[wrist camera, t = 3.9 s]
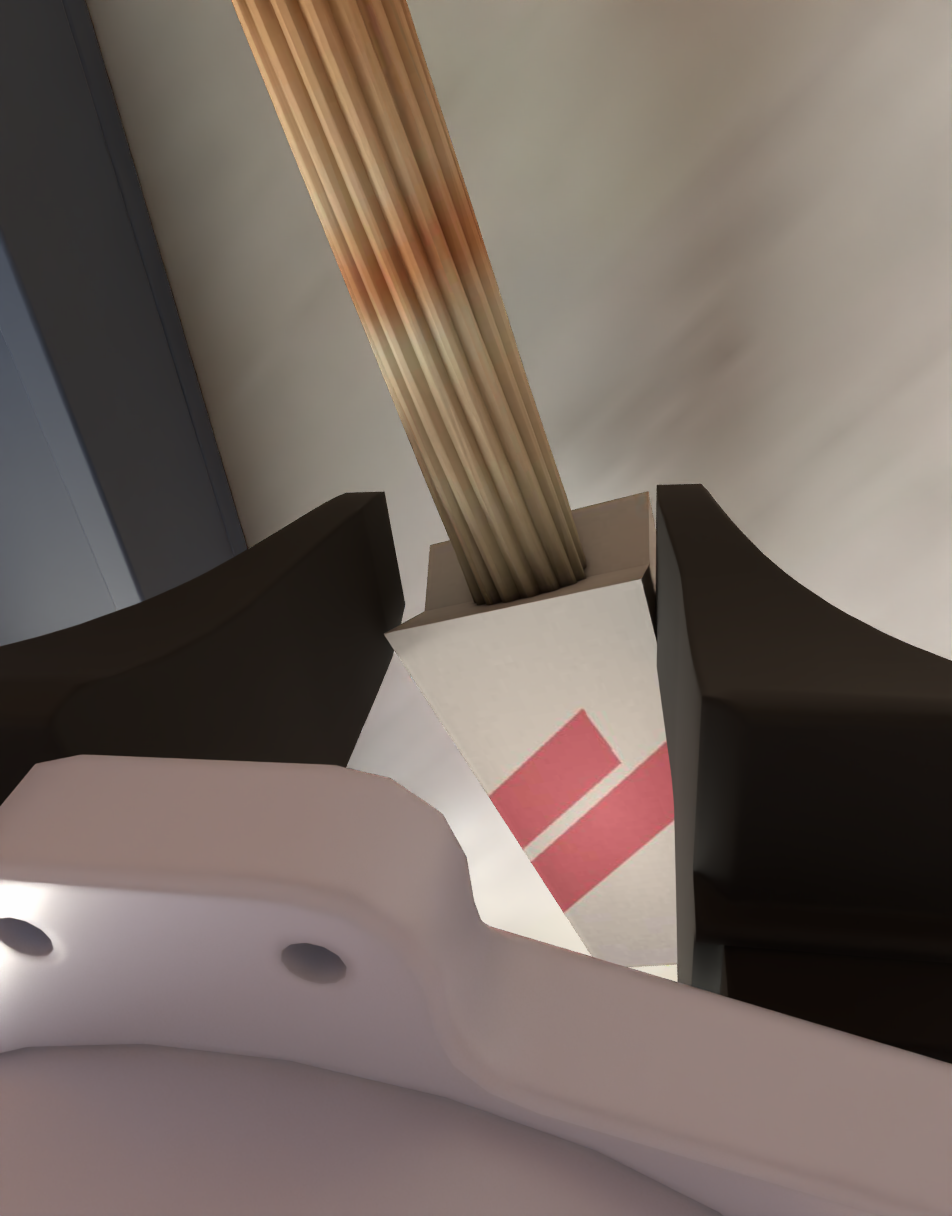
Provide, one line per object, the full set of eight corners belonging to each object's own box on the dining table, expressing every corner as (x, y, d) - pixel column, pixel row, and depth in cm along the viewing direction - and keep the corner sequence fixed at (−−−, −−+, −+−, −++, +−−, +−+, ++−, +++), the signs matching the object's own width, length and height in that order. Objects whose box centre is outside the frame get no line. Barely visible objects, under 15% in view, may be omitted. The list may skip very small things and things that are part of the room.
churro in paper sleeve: (566, 1035, 17) (-37, -289, 8) (578, 920, 19) (123, -205, 10) (769, 1031, 15) (332, -558, 6) (756, 909, 18) (419, -393, 9)
